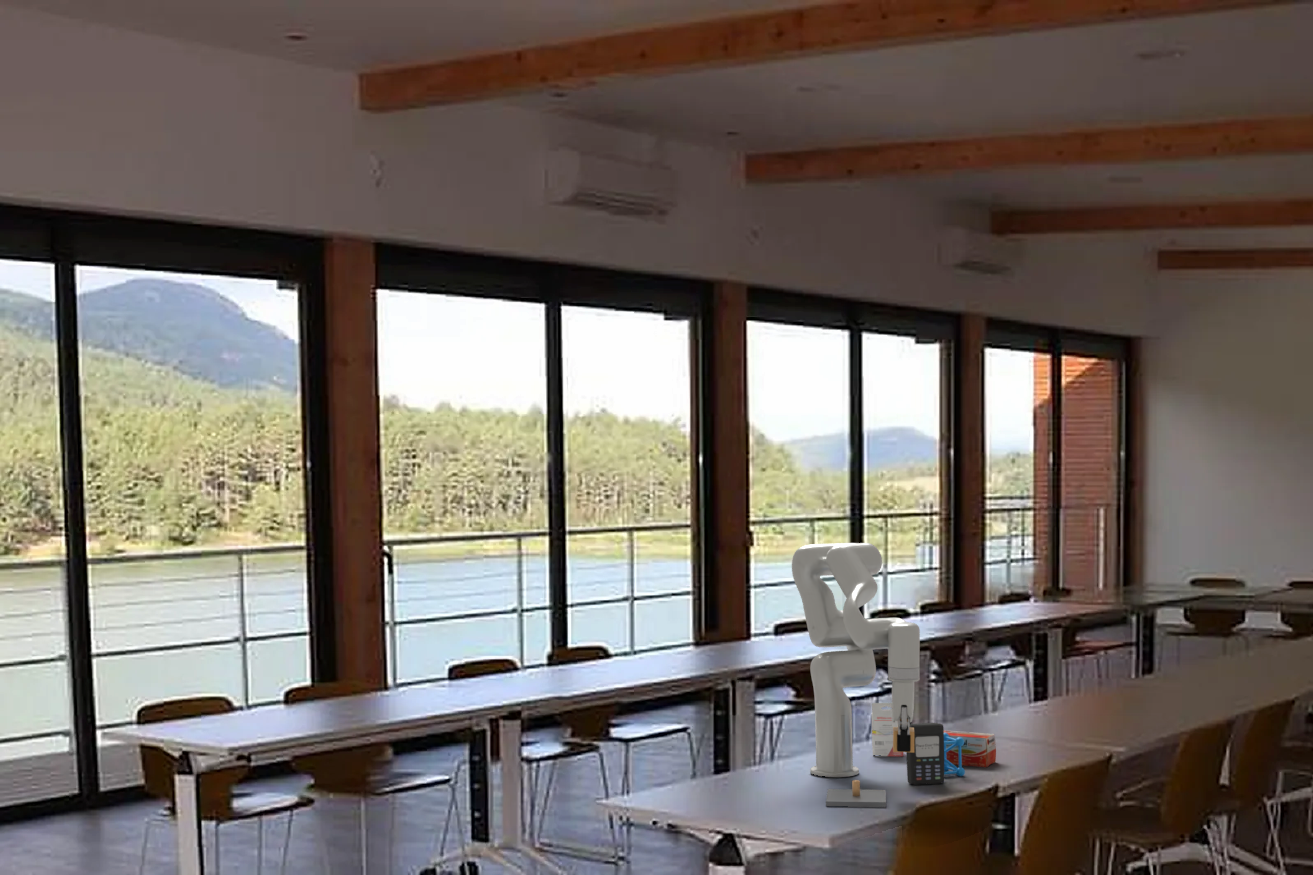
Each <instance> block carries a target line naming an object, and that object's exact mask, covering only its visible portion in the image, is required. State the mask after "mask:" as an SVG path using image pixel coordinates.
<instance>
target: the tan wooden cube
mask: <svg viewBox="0 0 1313 875" xmlns="http://www.w3.org/2000/svg"><path fill="white" fill-rule="evenodd" d="M897 734H898V727H893V752H901V751H897ZM910 735H911V750H910V752H913V753H914V728H911V727H910Z"/></svg>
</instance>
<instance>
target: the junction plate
mask: <svg viewBox="0 0 1313 875" xmlns="http://www.w3.org/2000/svg"><path fill="white" fill-rule="evenodd" d="M851 782H852V783H851V785H852V786H851V787H852V788H849V789H837V788H834V789H832V788H828V789H827V792H826V800H825V807H826V806H848V807H847V808H887V792H886V790H887V789H861V787H860V786H861V781H860V780H859V779H854V780H852V781H851Z"/></svg>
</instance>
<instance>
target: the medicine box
mask: <svg viewBox="0 0 1313 875" xmlns="http://www.w3.org/2000/svg"><path fill="white" fill-rule="evenodd" d="M944 733H947V734H948V735H949V737H950V738H954V739H956V738H958V737H961V738H963V739H964V745H963V746H961V759H962V766H965V767H974V768H975V767H976V768H977V767H978V768H988V767H989V766H990V765H993V764H995V763H996V761H997V760H996V758H997V742H996V734H995V733H987V732H985V733H984V732H973V731H972V732H970V731H956V730H945V729H944ZM948 741H951V740H948ZM952 745H953V744H946V749H947V748H949V747H950V746H952ZM946 759H947V760H948V761H949V762H951V763H952V764H953V765H955V766H959V753H958V746H955V747H954V748H952V749H951V750H949V751H948V752H946Z"/></svg>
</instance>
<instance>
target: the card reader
mask: <svg viewBox="0 0 1313 875" xmlns="http://www.w3.org/2000/svg"><path fill="white" fill-rule="evenodd" d="M910 727H911V728H914V753H913V752H905V754H906V776H907V777H906V778H907V779H906V780H907V782H908V784H909V785H913V786H921V785H922V786H923V785H937V784H938V785H939V784H940V785H941V784H942V783H944V782H945V775H944V772H945V771H944V730H945V728H944V725H943V723H940V722H920V723H919V722H917V723H910Z"/></svg>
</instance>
